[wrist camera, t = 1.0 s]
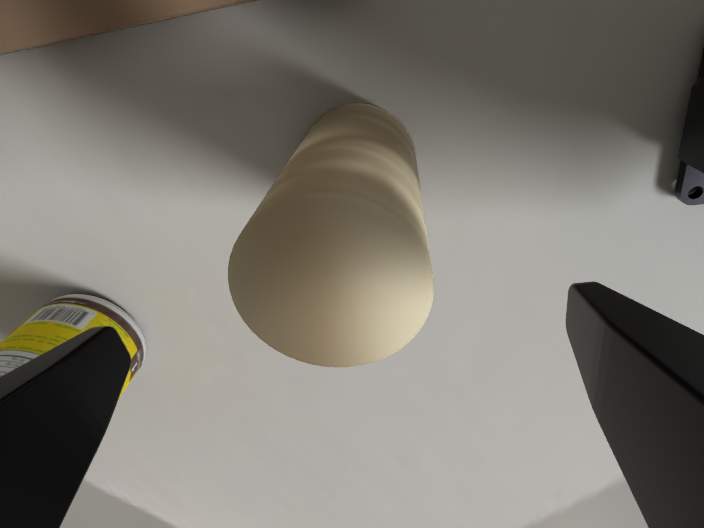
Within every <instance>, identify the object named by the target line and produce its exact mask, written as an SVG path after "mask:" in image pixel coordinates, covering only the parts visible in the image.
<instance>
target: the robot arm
mask: <svg viewBox="0 0 704 528" xmlns="http://www.w3.org/2000/svg"><path fill="white" fill-rule="evenodd" d="M678 156H679V158H680V159H681V163H680V168H679V173H678V178H677V182H676V187H675V196H676V197H677V199H679V200H680V201H681V202H683V203H685V204H687V205H698V204H704V49H703V54H702V59H701V64H700V69H699V74H698V79H697V82H696V83H695V84H694V85H693V86H692V89H691V94H690V99H689V104H688V109H687V114H686V119H685V124H684V129H683V134H682V139H681V144H680V149H679V154H678ZM696 186H697V189H696V191H695V192H694V193H692V194H690V195H688V192H689V191H690V190H691V189H692V188H693V187H696ZM566 329H567V334H568V337H569V340H570V343H571V346H572V349H573V352H574V355H575V358H576V361H577V364H578V367H579V370H580V373H581V376H582V379H583V382H584V385H585V388H586V391H587V394H588V397H589V400H590V403H591V405H592V408H593V411H594V413H595V415H596V417H597V420H598V422H599V424H600V426H601V428H602V430H603V433H604V435H605V437H606V439H607V441H608V443H609V445H610V447H611V449H612V452H613V454H614V456H615V458H616V460H617V462H618V464H619V466H620V468H621V470H622V473H623V475H624V477H625V479H626V481H627V483H628V485H629V487H630V489H631V492H632V494H633V496H634V498H635V500H636V502H637V504H638V506H639V508H640V510H641V512H642V515H643V517H644V519H645V521H646V523H647V525H648V527H649V528H704V335H702V334H700V333H698V332H696V331H694V330H692V329H690V328H688V327H686V326H684V325H682V324H680V323H678V322H676V321H674V320H672V319H670V318H668V317H666V316H664V315H662V314H660V313H658V312H656V311H654V310H652V309H650V308H648V307H646V306H644V305H642V304H640V303H638V302H636V301H634V300H632V299H630V298H628V297H626V296H624V295H622V294H620V293H618V292H616V291H614V290H612V289H610V288H608V287H606V286H604V285H602V284H600V283H598V282H584V283H574V284H572V285H571V286H570V288H569V290H568V300H567V312H566ZM130 366H131V356H130V353H129V351H128V350H127V348H126V346H125V344H124V343H123V341H122V339H121V337H120V335H119V334H118V332H117V330H116V329H115V328H113V327H111V326H100V327H92V328H90V329H88V330H86V331H84V332H82V333H80V334H78V335H76V336H75V337H73V338H71V339H69V340H67V341H65V342H64V343H62V344H60V345H58V346H56V347H54V348H52V349H51V350H49V351H47V352H45V353H43V354H41V355H40V356H38V357H36V358H34V359H32V360H30V361H29V362H27V363H25V364H23V365H21V366H19V367H17V368H16V369H14V370H12V371H10V372H8V373H6V374H5V375H3V376H1V377H0V528H60V526H61V524H62V522H63V519H64V517H65V515H66V513H67V511H68V509H69V507H70V505H71V503H72V501H73V499H74V497H75V495H76V493H77V491H78V488H79V486H80V484H81V483H82V480H83V478H84V476H85V474H86V472H87V470H88V468H89V466H90V464H91V462H92V460H93V458H94V456H95V454H96V452H97V450H98V448H99V445H100V443H101V441H102V439H103V437H104V435H105V433H106V430H107V428H108V425H109V423H110V420H111V417H112V415H113V412H114V409H115V407H116V404H117V401H118V399H119V396H120V393H121V391H122V388H123V385H124V383H125V380H126V377H127V375H128V372H129V369H130Z"/></svg>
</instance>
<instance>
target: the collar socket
mask: <svg viewBox="0 0 704 528" xmlns="http://www.w3.org/2000/svg"><path fill="white" fill-rule="evenodd" d="M251 1H256V0H0V55H1V54H6V53H11V52H15V51H20V50H25V49H29V48H34V47H39V46H44V45H48V44H53V43H58V42H62V41H67V40H72V39H77V38H81V37H86V36H91V35H96V34H100V33H105V32H110V31H114V30H119V29H124V28H129V27H133V26H138V25H143V24H147V23H152V22H157V21H162V20H166V19H171V18H176V17H180V16H185V15H190V14H195V13H199V12H204V11H209V10H214V9H218V8H223V7H228V6H232V5H237V4H242V3H247V2H251Z"/></svg>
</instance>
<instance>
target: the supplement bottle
mask: <svg viewBox="0 0 704 528" xmlns="http://www.w3.org/2000/svg"><path fill="white" fill-rule="evenodd" d="M100 326H111V327H113V328H115V329H116V330H117V332H118V334H119V335H120V337H121V339H122V341H123V343H124V344H125V346H126V348H127V350H128V351H129V353H130V356H131V366H130V369H129V372H128V375H127V377H126V380H125V383H124V385H123V388H122V391H121V393H120V396H121V395H122V393H123V392H124V390H125V389H126V387H127V386H128V384H129V383H130V382H131V380H132V379H133V377H134V376H135V374H136V373H137V371H138V370H139V368H140V367H141V365H142V363H143V361H144V358H145V353H146V344H145V339H144V336H143V334H142V332H141V330H140V328H139V326H138V325H137V324H136V322H135V321H134V320H133V319H132V318H131V317H130V316H129V315H128V314H127V313H126V312H125V311H123V310H122V309H121V308H119V307H118V306H116V305H114V304H113V303H111V302H109V301H106V300H104V299H102V298H98V297H95V296H91V295H84V294H70V295H64V296H60V297H57V298H55V299H53V300H51V301H49V302H48V303H47V304H45V305H44V306H43V307H41V308H40V309H39V310H38V311H37V312H36V313H35V314H33V315H32V316H31V317H30V318H29V319H28V320H26V321H25V322H24V323H23V324H22V325H21V326H20V327H18V328H17V329H16V330H15V331H14V332H13V333H11V334H10V335H9V336H8V337H7V338H6V339H4V340H3V341H2V342H1V343H0V377H1V376H3V375H5V374H6V373H8V372H10V371H12V370H14V369H16V368H17V367H19V366H21V365H23V364H25V363H27V362H29V361H30V360H32V359H34V358H36V357H38V356H40V355H41V354H43V353H45V352H47V351H49V350H51V349H52V348H54V347H56V346H58V345H60V344H62V343H64V342H65V341H67V340H69V339H71V338H73V337H75V336H76V335H78V334H80V333H82V332H84V331H86V330H88V329H90V328H92V327H100ZM120 396H119V398H120Z"/></svg>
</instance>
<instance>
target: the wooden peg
mask: <svg viewBox="0 0 704 528" xmlns="http://www.w3.org/2000/svg"><path fill="white" fill-rule="evenodd" d="M228 282H229V288H230V293H231V296H232V299H233V302H234V304H235V306H236V309H237V311H238V312H239V314H240V316H241V317H242V319H243V321H244V322H245V323H246V324H247V326H248V327H249V328H250V329H251V330H252V331H253V332H254V333H255V334H256V335H257V336H258V337H259V338H260V339H261V340H262V341H264V342H265V343H266V344H268V345H269V346H271V347H272V348H274V349H275V350H277V351H278V352H280V353H282V354H284V355H286V356H288V357H291V358H293V359H296V360H299V361H302V362H305V363H309V364H313V365H319V366H326V367H352V366H360V365H364V364H368V363H372V362H375V361H378V360H381V359H383V358H385V357H387V356H389V355H392V354H393V353H395V352H396V351H398V350H400V349H401V348H402V347H404V346H405V345H406V344H407V343H408V342H410V341H411V340H412V339H413V338H414V336H415V335H416V334H417V333H418V332H419V330H420V329H421V327H422V326H423V325H424V323H425V321H426V319H427V317H428V315H429V312H430V309H431V305H432V301H433V294H434V281H433V274H432V267H431V260H430V253H429V246H428V239H427V232H426V225H425V218H424V211H423V204H422V197H421V190H420V183H419V176H418V169H417V162H416V155H415V149H414V145H413V142H412V139H411V137H410V135H409V133H408V131H407V130H406V128H405V127H404V125H403V124H402V123H401V122H400V121H399V120H398V119H397V118H396V117H395V116H394V115H392V114H391V113H389V112H388V111H386V110H384V109H382V108H380V107H377V106H374V105H370V104H365V103H351V104H345V105H341V106H338V107H335V108H333V109H331V110H329V111H328V112H326V113H325V114H323V115H322V116H321V117H320V118H319V119H318V120H317V121H316V122H315V123H314V124H313V125H312V127H311V128H310V130H309V131H308V133H307V134H306V136H305V137H304V139H303V140H302V142H301V143H300V145H299V146H298V148H297V149H296V151H295V152H294V154H293V155H292V157H291V158H290V160H289V161H288V163H287V164H286V166H285V167H284V169H283V170H282V172H281V173H280V175H279V176H278V178H277V179H276V181H275V182H274V184H273V185H272V187H271V188H270V190H269V191H268V193H267V194H266V196H265V197H264V199H263V200H262V202H261V203H260V205H259V206H258V208H257V209H256V211H255V212H254V214H253V215H252V217H251V218H250V220H249V221H248V223H247V224H246V226H245V227H244V229H243V230H242V232H241V234H240V235H239V237H238V239H237V241H236V242H235V244H234V247H233V249H232V252H231V255H230V260H229V266H228Z"/></svg>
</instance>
